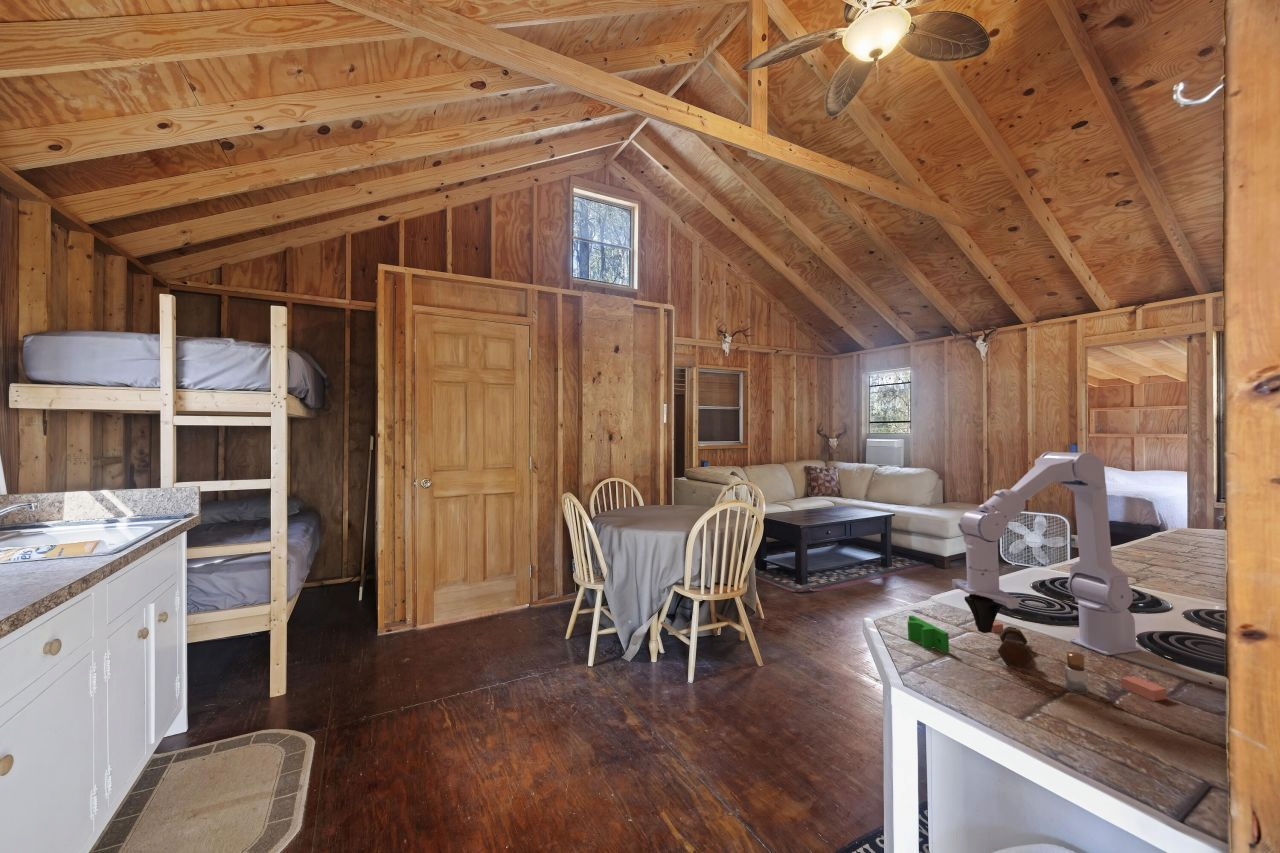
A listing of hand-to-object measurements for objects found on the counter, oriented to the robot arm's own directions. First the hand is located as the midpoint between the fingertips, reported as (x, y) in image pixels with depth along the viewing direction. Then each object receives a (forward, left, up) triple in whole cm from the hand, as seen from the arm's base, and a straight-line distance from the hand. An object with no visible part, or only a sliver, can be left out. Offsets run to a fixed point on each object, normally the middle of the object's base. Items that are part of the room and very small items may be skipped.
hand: (984, 631), depth 108 cm
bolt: (-8, 0, -6) cm, 10 cm away
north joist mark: (-15, +19, -6) cm, 25 cm away
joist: (-15, -13, -6) cm, 20 cm away
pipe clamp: (+7, -10, -6) cm, 13 cm away
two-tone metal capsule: (-5, +15, -6) cm, 17 cm away
